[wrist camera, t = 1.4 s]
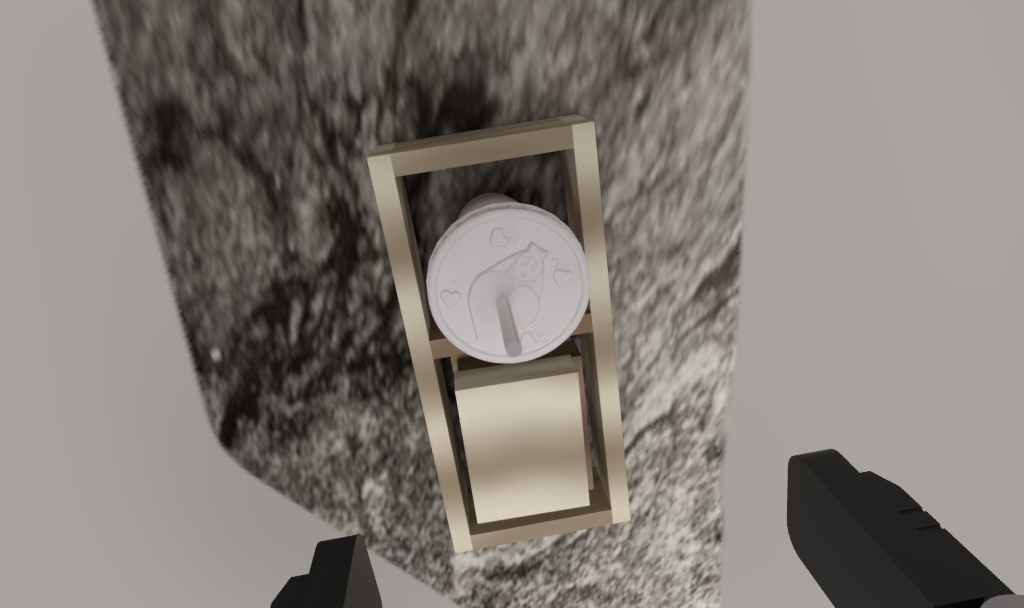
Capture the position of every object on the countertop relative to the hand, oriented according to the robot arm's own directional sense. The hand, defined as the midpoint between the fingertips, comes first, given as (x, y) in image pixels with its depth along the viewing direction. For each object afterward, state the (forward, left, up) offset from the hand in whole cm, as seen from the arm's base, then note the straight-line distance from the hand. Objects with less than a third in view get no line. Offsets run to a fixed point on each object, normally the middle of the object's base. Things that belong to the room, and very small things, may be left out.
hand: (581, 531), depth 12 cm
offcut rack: (+6, 0, -23) cm, 24 cm away
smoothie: (0, 0, -23) cm, 23 cm away
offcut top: (+10, 0, -20) cm, 22 cm away
